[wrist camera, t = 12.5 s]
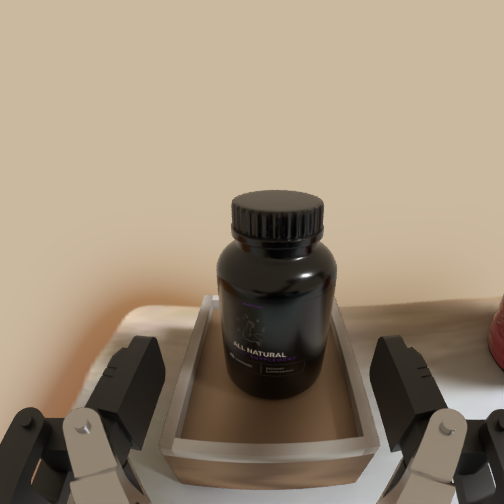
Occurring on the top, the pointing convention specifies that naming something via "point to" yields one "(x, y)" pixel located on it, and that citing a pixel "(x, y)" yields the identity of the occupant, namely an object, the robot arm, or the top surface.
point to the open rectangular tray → (267, 420)
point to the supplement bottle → (275, 293)
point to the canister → (497, 335)
